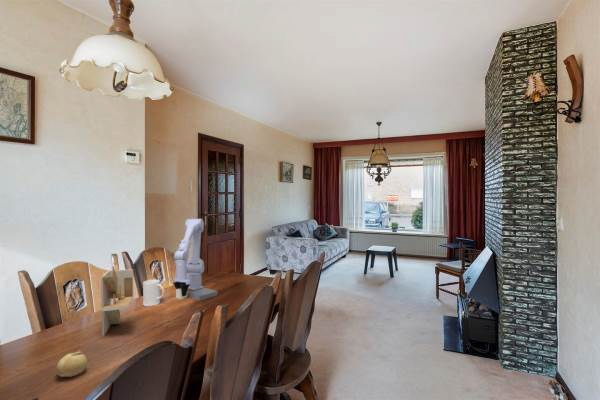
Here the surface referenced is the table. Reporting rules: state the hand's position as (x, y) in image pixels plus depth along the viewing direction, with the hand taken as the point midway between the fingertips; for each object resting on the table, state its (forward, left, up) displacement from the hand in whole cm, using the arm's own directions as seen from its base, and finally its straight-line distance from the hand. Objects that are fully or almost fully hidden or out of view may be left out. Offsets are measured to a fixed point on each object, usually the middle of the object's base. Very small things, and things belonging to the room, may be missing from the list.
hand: (181, 295), depth 176 cm
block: (0, 0, -1) cm, 1 cm away
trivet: (+7, +9, -1) cm, 11 cm away
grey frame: (+18, -40, -2) cm, 44 cm away
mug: (-2, -15, -2) cm, 15 cm away
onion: (+44, -64, -2) cm, 78 cm away
